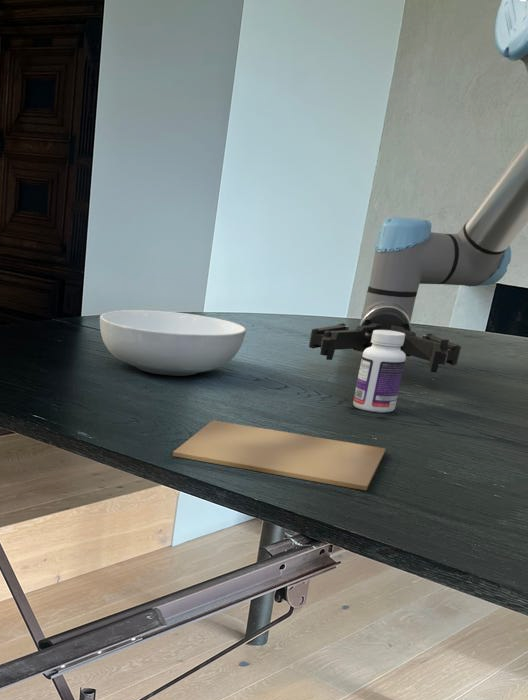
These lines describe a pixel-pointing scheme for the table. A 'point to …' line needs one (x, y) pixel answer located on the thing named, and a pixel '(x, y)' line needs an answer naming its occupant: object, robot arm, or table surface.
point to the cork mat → (284, 454)
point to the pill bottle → (380, 372)
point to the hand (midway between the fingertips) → (382, 355)
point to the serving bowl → (170, 340)
